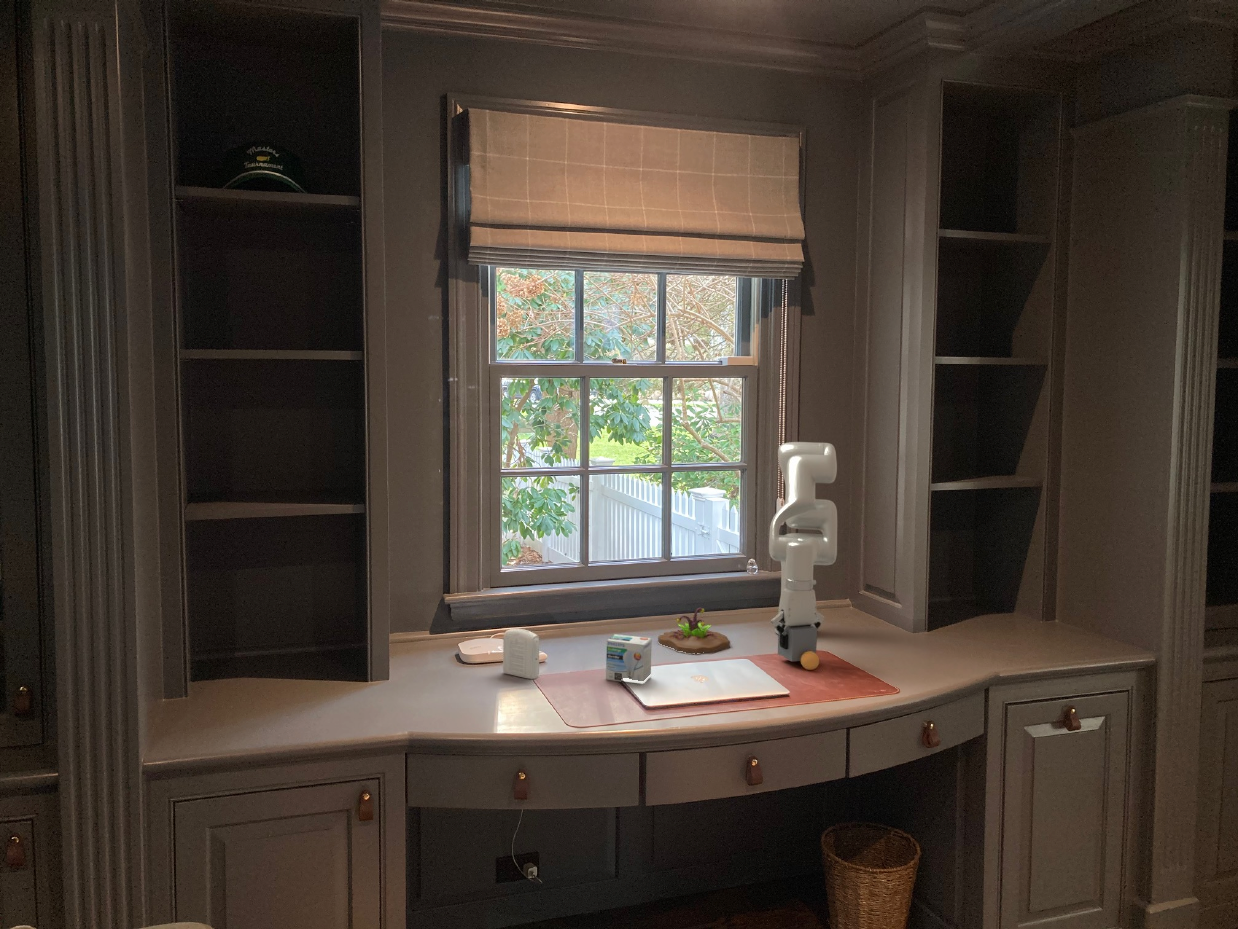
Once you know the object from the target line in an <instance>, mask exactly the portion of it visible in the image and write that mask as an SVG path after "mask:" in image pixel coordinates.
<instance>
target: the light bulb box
mask: <svg viewBox="0 0 1238 929" xmlns="http://www.w3.org/2000/svg"><path fill="white" fill-rule="evenodd" d="M652 641H653V640H652V638H651V637H642V636H636V635H635V636H634V635H633V636H632V635H625V634H617V633H614V634H613V635H612V636H611V637H610V638H608V639H607V640H606V656H605V657H606V659H605V660H606V661H605V662H606V664H605V680H607V681H613V682H620V683H622V682H621V679H623V678H629V679H632V680H638V681H644V680H645V679H646V678H647V677H648V676H649V675H650V674H651V675H652V646H653V644H652Z"/></svg>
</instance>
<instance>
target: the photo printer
mask: <svg viewBox="0 0 1238 929" xmlns="http://www.w3.org/2000/svg"><path fill="white" fill-rule="evenodd" d="M502 648H503V649H502V652H503V653H502V654H503V655H502V658H503V659H502V671H503V673H504V674H506V675H511V676H516V677H520V678H525V679H528V680H529V679H530V680H534V679H537V678H538V677H539V674H540V638H539V635H538V634H536V633H534V632H532V631H531V630H528V629H527V630H526V629H522V628H511V629H508V630H507V629H506V631H505V632H504V634H503V647H502Z"/></svg>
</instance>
